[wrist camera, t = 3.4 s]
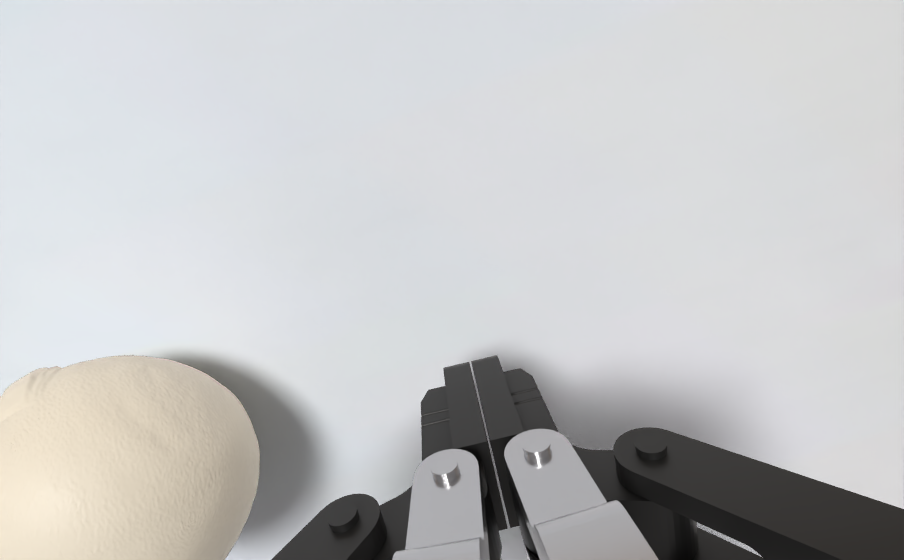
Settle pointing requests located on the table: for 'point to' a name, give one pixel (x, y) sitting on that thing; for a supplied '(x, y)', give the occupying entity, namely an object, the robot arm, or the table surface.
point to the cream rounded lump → (124, 463)
